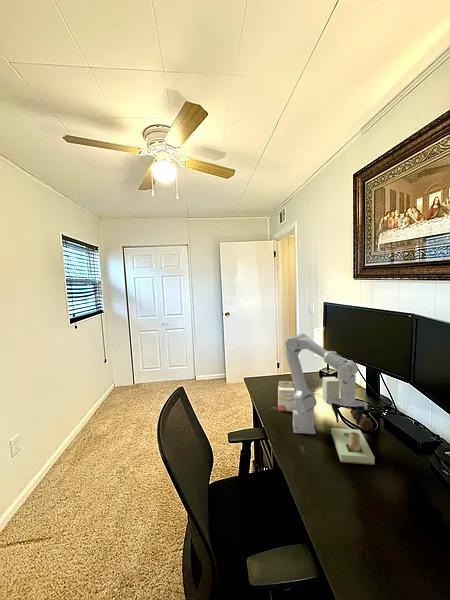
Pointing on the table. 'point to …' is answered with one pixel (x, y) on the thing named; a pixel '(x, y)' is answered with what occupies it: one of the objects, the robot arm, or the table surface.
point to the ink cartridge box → (286, 396)
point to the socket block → (342, 447)
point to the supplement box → (330, 388)
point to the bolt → (362, 420)
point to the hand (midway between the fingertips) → (347, 422)
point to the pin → (354, 442)
